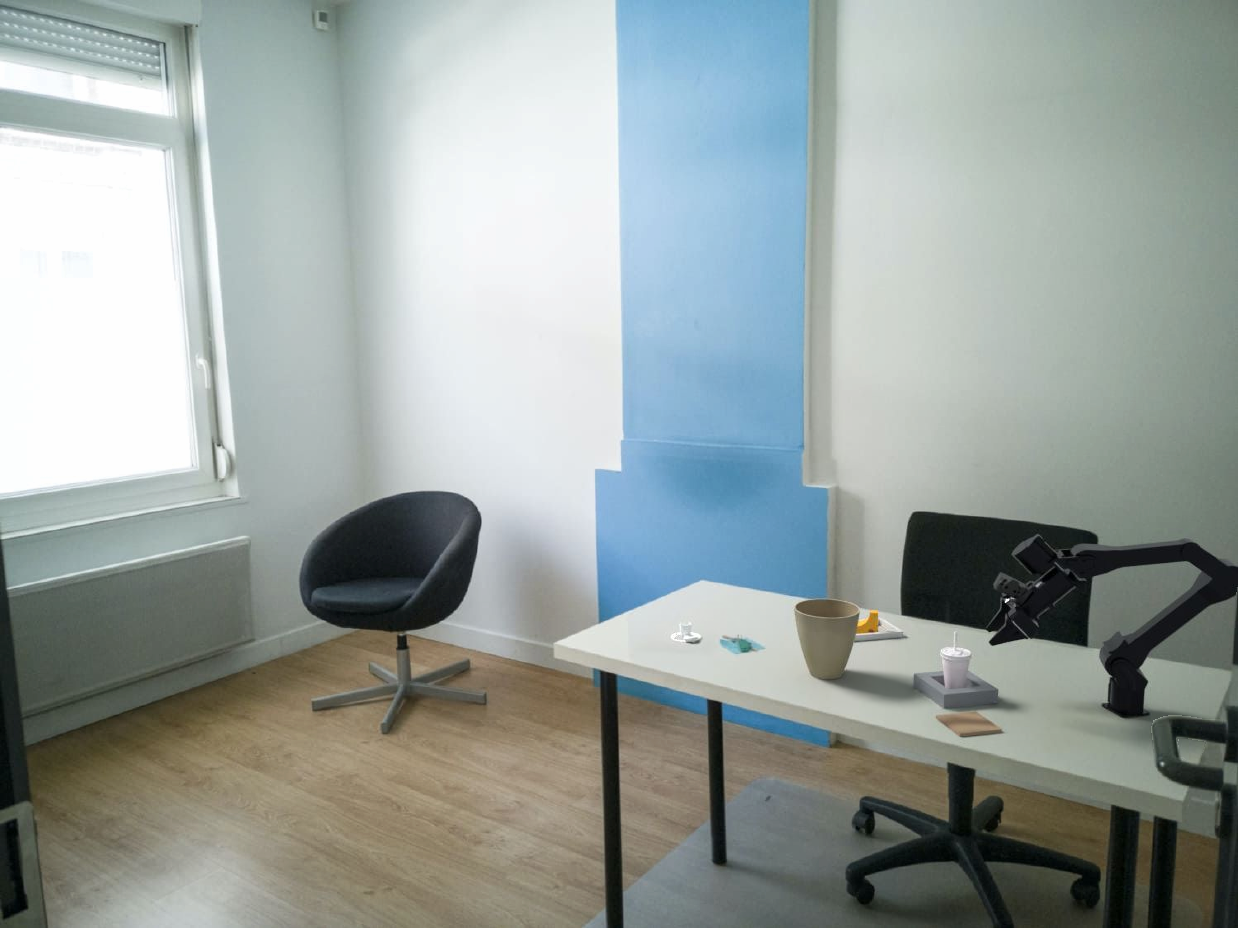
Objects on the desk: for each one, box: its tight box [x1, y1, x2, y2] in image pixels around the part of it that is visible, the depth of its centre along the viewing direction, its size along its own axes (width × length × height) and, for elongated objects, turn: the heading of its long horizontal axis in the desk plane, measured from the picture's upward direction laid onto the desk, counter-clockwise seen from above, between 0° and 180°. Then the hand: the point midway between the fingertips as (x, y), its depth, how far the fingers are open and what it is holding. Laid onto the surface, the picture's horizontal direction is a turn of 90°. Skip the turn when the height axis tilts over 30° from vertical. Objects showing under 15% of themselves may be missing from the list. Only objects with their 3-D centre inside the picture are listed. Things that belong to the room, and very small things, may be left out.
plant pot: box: [793, 598, 861, 680], centre depth 211 cm, size 15×15×16 cm
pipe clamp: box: [856, 609, 879, 634], centre depth 242 cm, size 12×4×6 cm, turn 71°
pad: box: [935, 710, 1003, 737], centre depth 183 cm, size 9×9×1 cm
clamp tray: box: [854, 617, 904, 642], centre depth 242 cm, size 12×18×2 cm, turn 101°
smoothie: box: [939, 630, 972, 689], centre depth 198 cm, size 6×6×14 cm
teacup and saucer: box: [670, 621, 702, 643], centre depth 240 cm, size 9×8×4 cm
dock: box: [912, 670, 999, 709], centre depth 199 cm, size 13×13×3 cm
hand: (988, 637), depth 195 cm, fingers open, 9 cm apart
